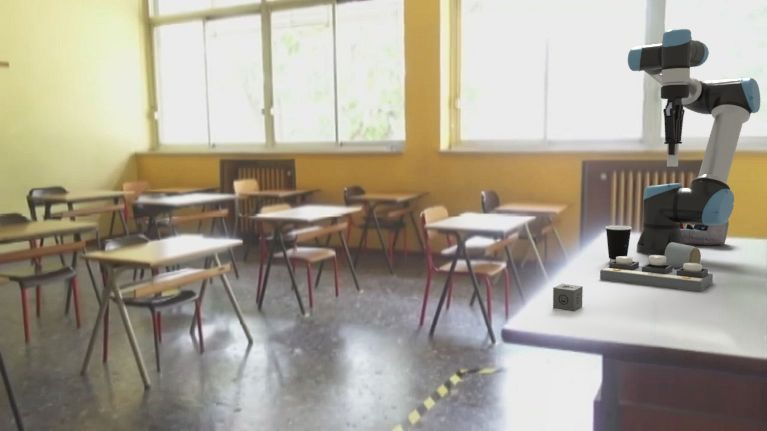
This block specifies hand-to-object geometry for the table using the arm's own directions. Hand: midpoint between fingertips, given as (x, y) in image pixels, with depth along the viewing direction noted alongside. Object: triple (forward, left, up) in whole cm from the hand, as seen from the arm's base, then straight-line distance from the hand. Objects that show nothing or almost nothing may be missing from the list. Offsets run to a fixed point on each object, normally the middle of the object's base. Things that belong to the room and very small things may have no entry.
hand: (672, 166), depth 189 cm
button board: (+20, +2, -30) cm, 36 cm away
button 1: (+19, -7, -27) cm, 34 cm away
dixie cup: (-2, -16, -31) cm, 35 cm away
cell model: (-51, -5, -31) cm, 60 cm away
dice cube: (+60, -6, -31) cm, 67 cm away
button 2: (+19, +11, -27) cm, 35 cm away
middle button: (+19, +2, -26) cm, 32 cm away
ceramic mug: (-2, +4, -31) cm, 31 cm away
